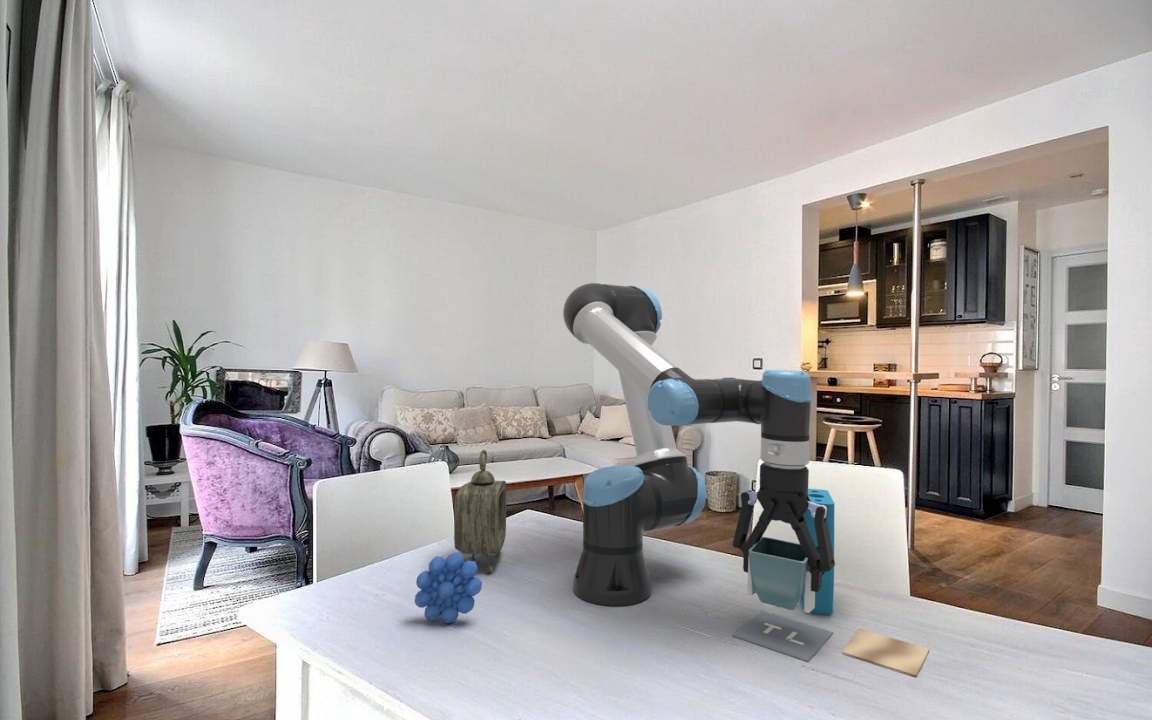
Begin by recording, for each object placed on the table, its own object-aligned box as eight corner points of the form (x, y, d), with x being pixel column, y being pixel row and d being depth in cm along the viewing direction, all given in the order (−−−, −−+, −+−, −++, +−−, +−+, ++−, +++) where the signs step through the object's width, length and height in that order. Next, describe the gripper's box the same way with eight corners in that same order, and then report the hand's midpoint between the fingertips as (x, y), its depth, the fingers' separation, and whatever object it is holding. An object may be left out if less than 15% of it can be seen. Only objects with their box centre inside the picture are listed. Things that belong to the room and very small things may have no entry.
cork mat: (841, 653, 87) (841, 651, 87) (859, 630, 95) (859, 628, 95) (916, 677, 81) (916, 675, 81) (929, 650, 89) (929, 648, 89)
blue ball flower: (487, 613, 101) (488, 545, 101) (478, 631, 94) (478, 558, 94) (423, 610, 102) (424, 543, 102) (409, 628, 95) (409, 555, 95)
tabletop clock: (496, 577, 117) (497, 455, 118) (452, 576, 118) (453, 455, 118) (505, 553, 132) (506, 445, 132) (467, 553, 132) (467, 445, 132)
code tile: (732, 636, 93) (732, 634, 93) (762, 612, 102) (762, 610, 102) (808, 662, 85) (808, 660, 85) (833, 633, 94) (833, 631, 94)
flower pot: (803, 620, 88) (805, 562, 88) (746, 605, 92) (747, 550, 92) (813, 599, 95) (815, 546, 95) (760, 586, 100) (761, 535, 100)
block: (834, 619, 99) (835, 504, 99) (803, 615, 101) (804, 502, 101) (826, 593, 110) (827, 489, 110) (799, 589, 112) (799, 488, 112)
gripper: (713, 457, 98) (710, 588, 98) (847, 478, 84) (842, 631, 84) (733, 452, 103) (729, 576, 104) (861, 471, 89) (856, 613, 90)
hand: (780, 600), depth 94 cm, fingers closed on flower pot, 9 cm apart
